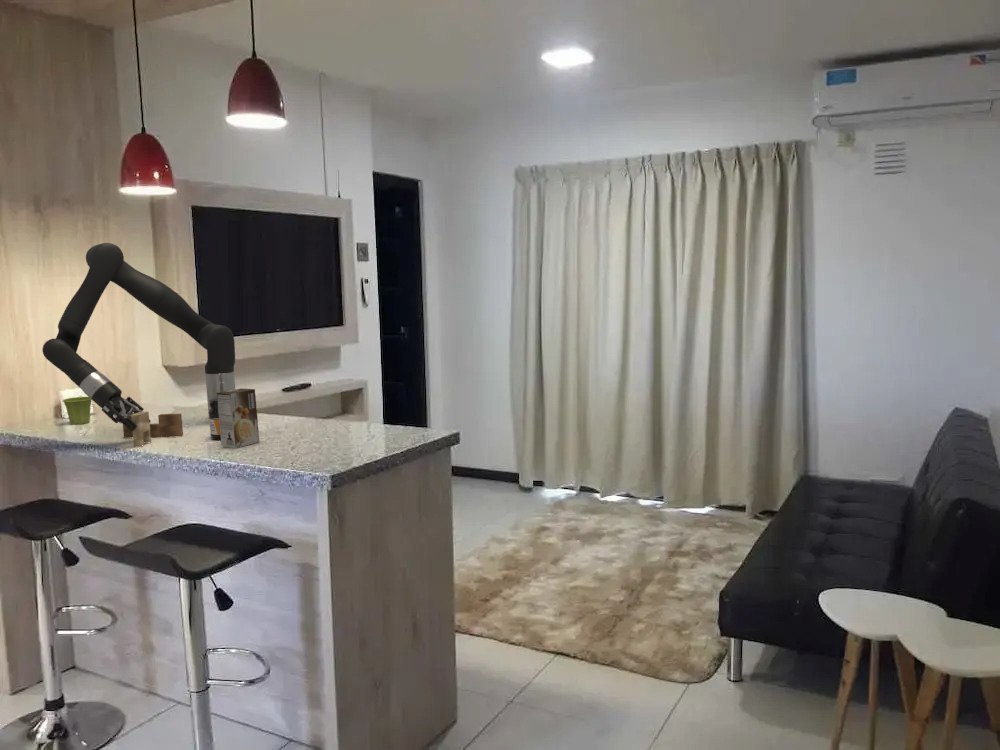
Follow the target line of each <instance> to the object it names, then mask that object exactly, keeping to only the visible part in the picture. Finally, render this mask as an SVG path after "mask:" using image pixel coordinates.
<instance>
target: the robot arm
mask: <svg viewBox="0 0 1000 750" xmlns="http://www.w3.org/2000/svg"><path fill="white" fill-rule="evenodd" d="M85 260H86V261H85V262H86V264H87V266H88V271H87V273H86V275H85V278H84V280H83V281H82V284H80V286H79V288H78V290H76V292H75V294H74V295H73V296H72V298H71V300H70V301H69V302H68V304H67V306H66V308H65V310H64V311H63V313H62V314H61V315H62V316H61V317H60V319H59V322H58V325H57V328H58V333H57V334H56V337H55V338H50V339H48V340H46V341H45V342H44V343H43V346H42V355H43V357H45V359H46V360H47V361H49V362H50V363H51V364H52V365H53V366H55V367H56V368H57V369H59V371H61V372H62V373H64V374H65V375H66V376H67V377H68V378H69V380H71V381H72V382H73V383H74V384H75V385H76V386H77V387H78V388H80V389H81V391H82V392H83V393H84V394H85V395H86V397H89V398H91V399H92V400H91V401H93V402H94V403H95V404H96V405H98V407H100V409H101V412H103V413H104V414H105V415H106V416H107V417H108V418H110V420H111V421H113V423H115V424H118V423H119V424H122V425H123V424H124V425H125V426H126V427H127V428H128V429H129V430H130V431H134V430H135V429H136V428H137V425H136V424H135V423H134V422H132V421H131V420H130V419H129V418H127V416H126V415H128V416H130V415H133V414H136V413H139V412H144V407H143V406H141V405H140V404H139V403H137V401H136V400H134V399H133V398H132V397H130V396H127V398H124V397H122V394H123V392H122V389H121V388H119V387H118V386H117V385H116V384H115V383H114V382H113V381H111V380H110V379H109V378H108V377H107V376H106V375H105V374H103V373H101V371H99V370H98V369H97V368H96V367H95V366H93V364H91V362H89V361H87V360H86V359H84V358H83V357H81V355H79V353H77V351H78V349H79V345H80V342H81V339H82V335H83V333H84V331H85V329H86V328H87V325H88V323H89V321H90V319H91V318H92V315H93V313H94V310H95V308H96V307H97V305H98V302H99V300H100V299H101V297H102V295H103V294H104V292H105V290H106V289H107V287H108V285H109V284H110V282H112V283H113V284H115V285H116V286H118V287H120V288H122V289H123V290H124V291H125V292H126V293H128V294H129V295H131V297H133V298H134V299H135V300H136V301H138V302H139V303H141V304H142V306H143V305H144V306H145V307H146V308H147V309H149V310H150V311H152V313H154V314H156V315H157V316H158V317H161V318H162V319H164V320H165V321H167V322H168V323H170V324H171V325H173V326H175V327H177V328H179V329H180V330H182V331H183V332H185V333H186V334H188V336H189V337H191V338H192V339H193V340H194V341H196V342H197V344H199V346H201V347H202V348H204V350H206V355H207V356H206V357H207V359H206V364H205V365H204V372H205V374H204V376H205V385H206V386H205V387H206V398H207V399H206V400H207V409H208V411H209V410H210V408H211V407H210V405H209V400H211V399H214V398H217V393H219V392H224V391H229V390H235V389H236V382H235V381H236V380H235V363H236V348H235V347H236V346H235V343H236V342H235V337H234V334H233V331H232V330H231V329H230V328H229V327H227V326H225V325H224V324H223V325H221V324H215V323H213V322H212V321H210V320H208V319H206V318H205V317H203V316H202V315H200V314H198V312H196V311H195V309H193V308H192V306H191V305H189V303H188V302H187V301H186V300H185V299H184V297H182V296H181V295H180V294H179V293H178V292H176V291H174V290H173V289H172V288H170V287H169V286H168V285H166V284H165V283H163V282H161V281H160V280H158V279H156V278H154V277H152V276H150V275H148V274H145V273H144V272H142V271H139V270H138V269H136V268H134V267H133V266H131V265H130V264H129V263H128V262H126V261H125V258H124V252H123V251H122V250H121V247H119V246H118V245H117V244H114V243H110V242H102V243H99V244H95V245H93V246H91V247H90V248H89V249H88V250H87V251H86V254H85ZM208 421H209V420H208ZM149 423H150V424H151V419H150V418H149ZM208 423H209V425H210V421H209V422H208Z"/></svg>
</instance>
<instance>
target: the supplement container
mask: <svg viewBox="0 0 1000 750" xmlns="http://www.w3.org/2000/svg"><path fill="white" fill-rule="evenodd" d="M209 405H210V407H211V408H210V410H209V411H208V421H210V424H209V429H210V430H209V431H210V432H209V436H210V438H211V439H213V440H215V441H216V440H217V441H221V435H220V424H219V413H218V402H217V398H214V399H211V400H209Z"/></svg>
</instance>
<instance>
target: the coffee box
mask: <svg viewBox="0 0 1000 750" xmlns="http://www.w3.org/2000/svg"><path fill="white" fill-rule="evenodd" d="M217 402H218V413H219V424H220V435H221V440H220V443H221V444H220V445H221V447H222V446H223V447H222V448H229V447H230V448H231V449H237V448H238V447H239V448H242V447H245V446H249V445H254V444H257V443H260V433H259V431H260V430H259V420H258V409H257V398H256V389H255V388H235V390H229V391H224V392H219V393H217Z"/></svg>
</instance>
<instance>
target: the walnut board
mask: <svg viewBox="0 0 1000 750" xmlns="http://www.w3.org/2000/svg"><path fill="white" fill-rule="evenodd" d="M126 416H127V418H129V419H130V420H131V415H130V416H128V415H126ZM157 417H158V419H157V420H158V423H150V433H151V438H170V437H169V436H181V437H183V436H184V430H183V429H184V428H183V417H182V413H159V414H158V415H157ZM131 421H132V420H131ZM122 429H123V430H122V432H123V439H126V438H125V437H133V431H130V430H129V429H128V428H127V427H126V426H125V425H124V424H122ZM182 435H183V436H182ZM166 436H167V437H166Z"/></svg>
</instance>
